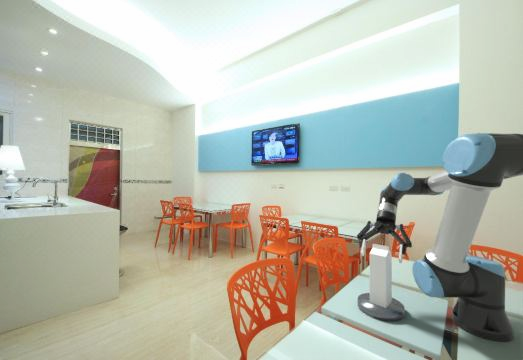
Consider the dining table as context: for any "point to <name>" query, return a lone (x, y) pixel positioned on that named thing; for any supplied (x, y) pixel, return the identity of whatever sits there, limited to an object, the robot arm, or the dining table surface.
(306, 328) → the dining table surface
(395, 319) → the dark grey plate
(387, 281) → the milk
